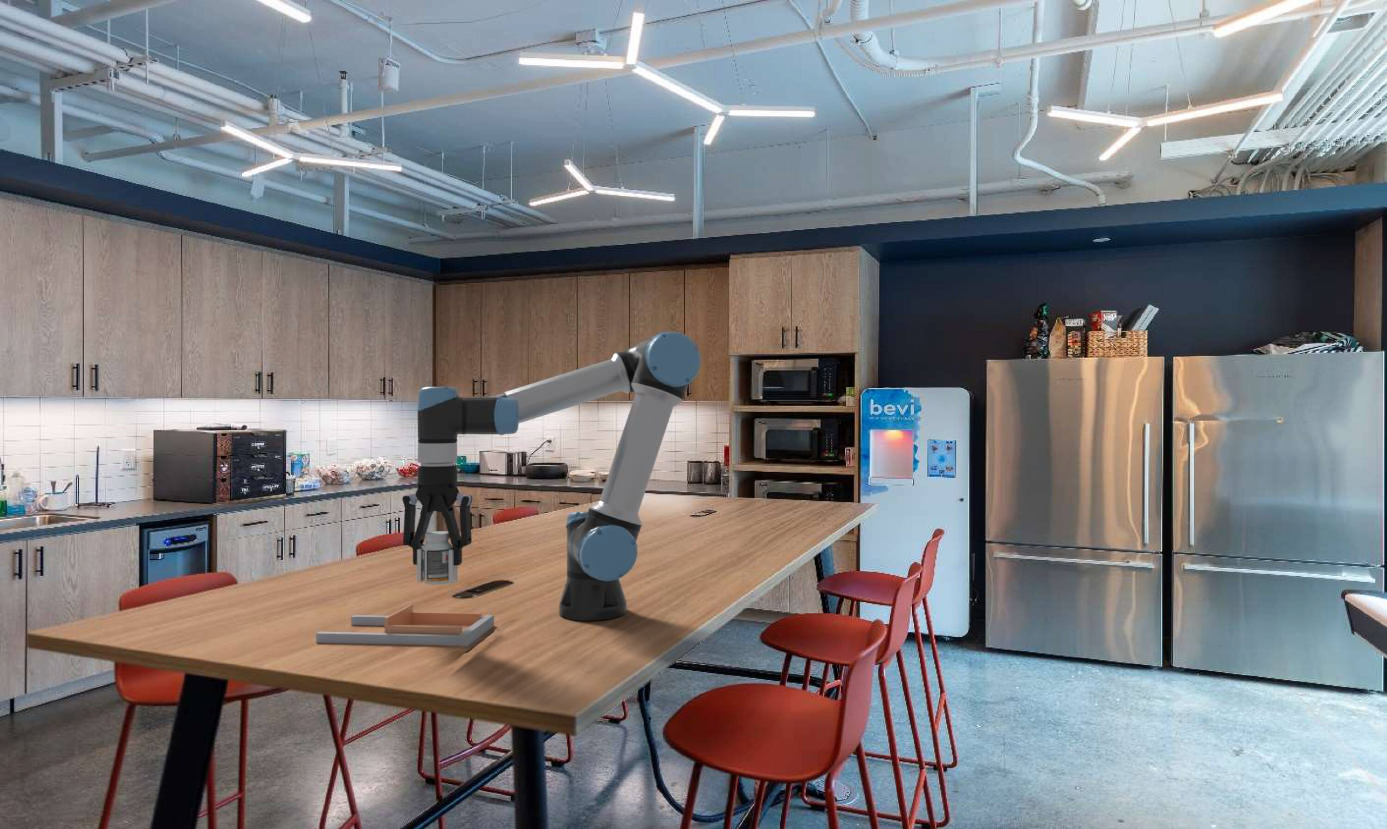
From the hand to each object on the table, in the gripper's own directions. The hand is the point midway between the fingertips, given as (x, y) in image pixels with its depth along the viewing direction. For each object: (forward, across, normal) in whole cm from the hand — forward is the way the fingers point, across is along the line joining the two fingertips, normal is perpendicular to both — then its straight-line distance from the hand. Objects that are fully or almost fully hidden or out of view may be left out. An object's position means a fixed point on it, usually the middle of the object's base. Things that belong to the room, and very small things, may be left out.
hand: (437, 581), depth 162 cm
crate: (+11, +1, 0) cm, 11 cm away
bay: (+12, +6, 0) cm, 13 cm away
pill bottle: (+1, 0, 0) cm, 1 cm away
